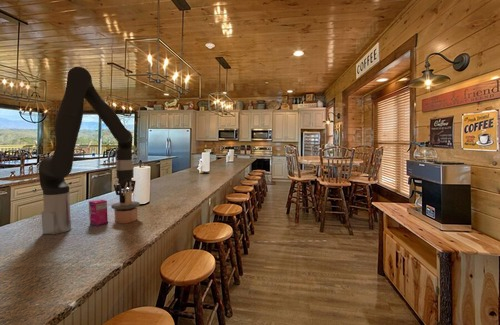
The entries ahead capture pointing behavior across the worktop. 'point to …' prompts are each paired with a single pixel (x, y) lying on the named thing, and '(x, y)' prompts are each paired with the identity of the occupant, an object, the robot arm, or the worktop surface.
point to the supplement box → (98, 212)
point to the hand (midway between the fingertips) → (125, 201)
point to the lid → (126, 202)
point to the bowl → (125, 215)
